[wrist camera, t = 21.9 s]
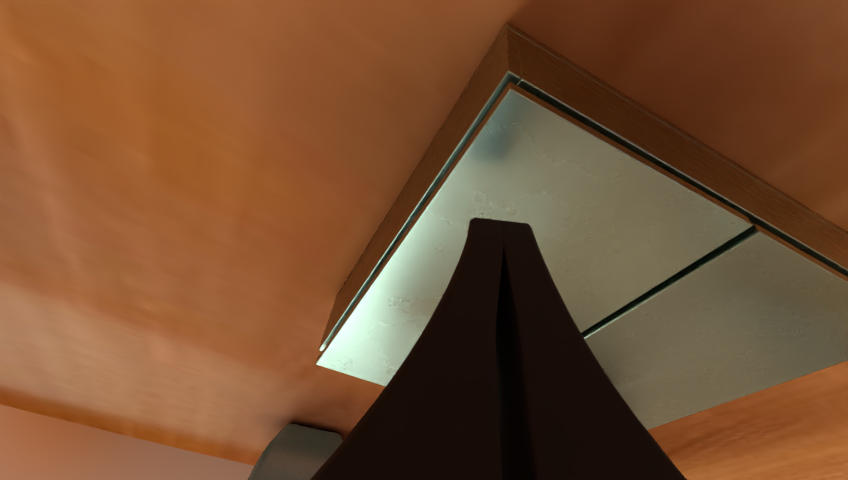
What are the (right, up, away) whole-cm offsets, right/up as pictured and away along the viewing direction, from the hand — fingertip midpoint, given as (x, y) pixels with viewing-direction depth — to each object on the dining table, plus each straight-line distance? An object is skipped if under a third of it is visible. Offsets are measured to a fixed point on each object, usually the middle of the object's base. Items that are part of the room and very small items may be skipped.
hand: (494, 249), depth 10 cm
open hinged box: (+4, -1, +10) cm, 11 cm away
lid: (0, -2, +7) cm, 7 cm away
